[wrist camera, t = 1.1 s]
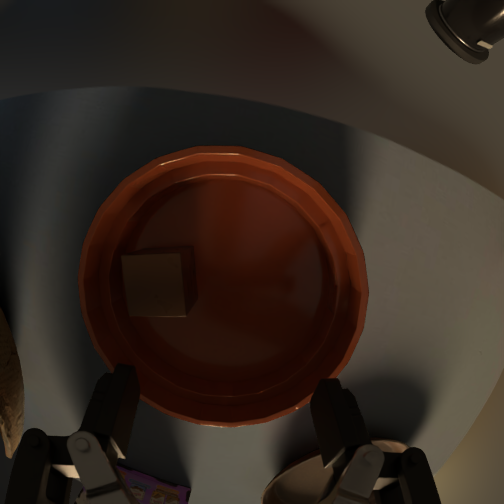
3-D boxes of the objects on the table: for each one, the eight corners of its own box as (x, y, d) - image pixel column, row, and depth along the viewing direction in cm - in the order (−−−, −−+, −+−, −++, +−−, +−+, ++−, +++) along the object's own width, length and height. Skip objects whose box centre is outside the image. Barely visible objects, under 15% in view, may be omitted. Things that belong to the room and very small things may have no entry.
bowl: (144, 137, 22) (118, 119, 16) (373, 207, 23) (404, 206, 17) (98, 348, 24) (72, 373, 19) (294, 409, 25) (302, 445, 20)
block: (143, 248, 23) (120, 255, 18) (194, 245, 22) (180, 252, 18) (148, 299, 23) (128, 316, 19) (198, 298, 23) (186, 317, 19)
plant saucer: (371, 397, 25) (382, 415, 22) (421, 458, 27) (429, 470, 24) (227, 477, 27) (226, 495, 23) (311, 518, 29) (314, 532, 25)
